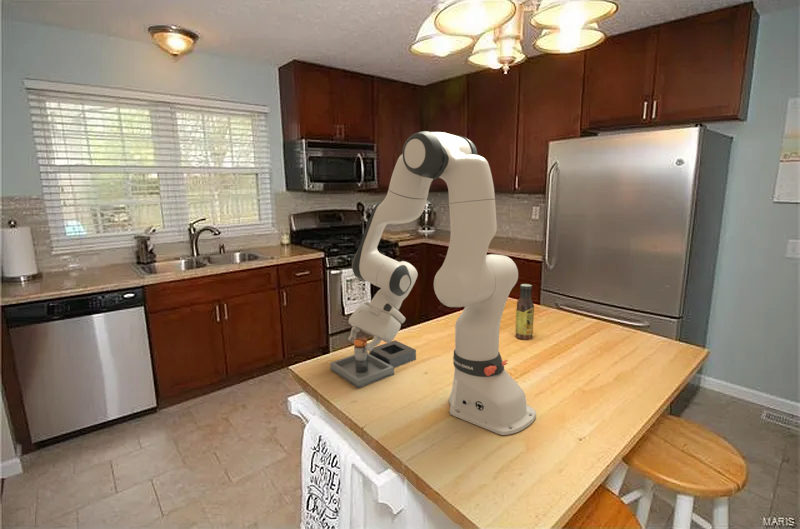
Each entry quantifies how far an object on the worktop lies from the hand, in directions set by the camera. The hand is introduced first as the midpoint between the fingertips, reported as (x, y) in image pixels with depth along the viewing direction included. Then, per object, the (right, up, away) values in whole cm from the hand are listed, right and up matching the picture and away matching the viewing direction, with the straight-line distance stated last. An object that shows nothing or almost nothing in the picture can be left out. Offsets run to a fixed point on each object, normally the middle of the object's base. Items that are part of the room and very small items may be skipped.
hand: (358, 345), depth 125 cm
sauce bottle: (+59, -2, +27) cm, 65 cm away
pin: (+1, -8, +2) cm, 8 cm away
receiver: (+10, -7, +11) cm, 16 cm away
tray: (+1, -9, +2) cm, 9 cm away
